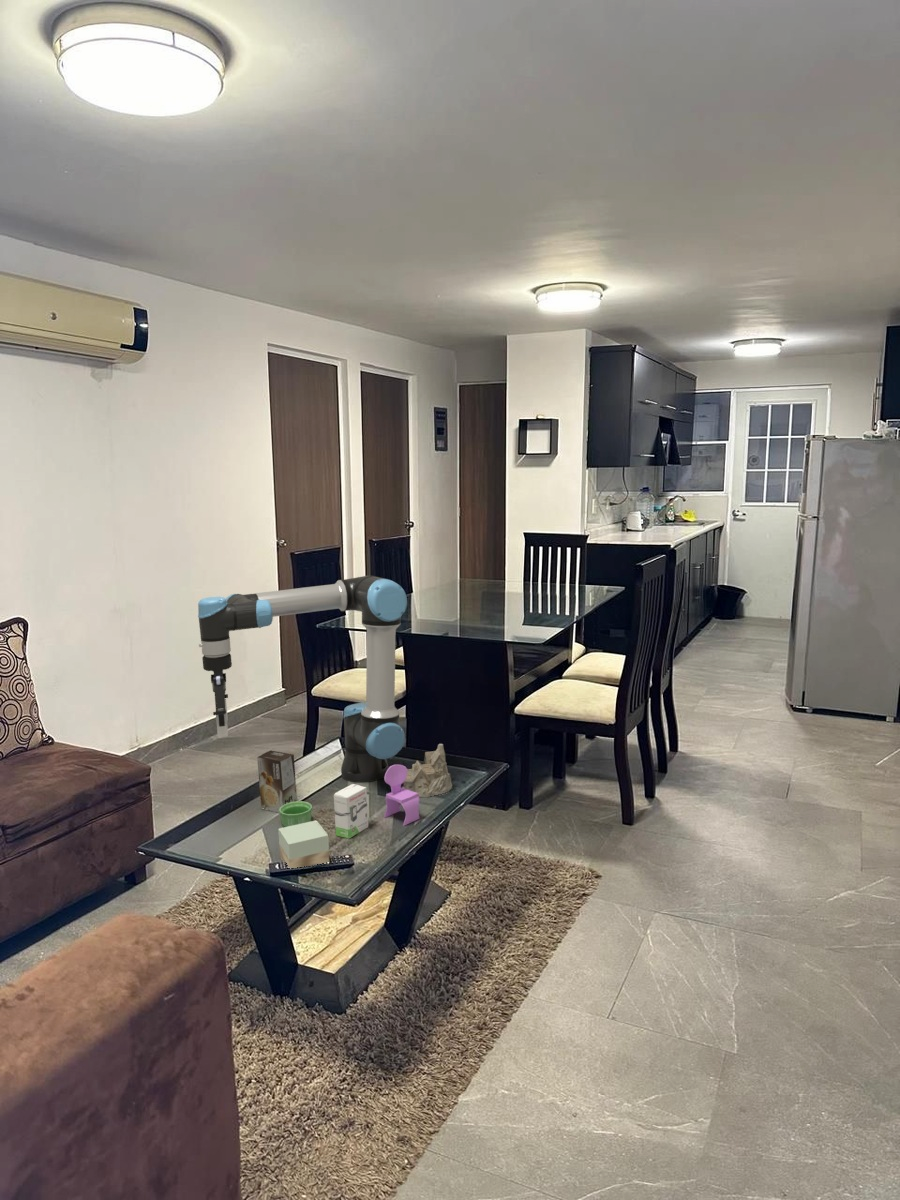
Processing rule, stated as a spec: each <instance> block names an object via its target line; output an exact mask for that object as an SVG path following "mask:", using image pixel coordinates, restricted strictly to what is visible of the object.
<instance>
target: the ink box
mask: <svg viewBox="0 0 900 1200" xmlns="http://www.w3.org/2000/svg"><path fill="white" fill-rule="evenodd" d="M367 790H368V789H367V787H366V786H362V785H359V784H355V783H351V784H350V785H347V786H346V787H344V788H342V789H340V790H338V791H336V792H335V793H334V794H333V804H334V805H333V806H334V807H333V808H334V822H335V823H334V824H335V825H334V826H335V835H336V836H337V837H342V838H344V839H351V838H352V837H354V836H355V835H357V834H359V833H361V832H362V831H364V830H366V829H367V828H369V816H368V815H369V813H368V810H369V809H368V794H367V793H368V791H367Z"/></svg>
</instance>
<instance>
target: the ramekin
mask: <svg viewBox="0 0 900 1200" xmlns="http://www.w3.org/2000/svg"><path fill="white" fill-rule="evenodd" d="M312 810H313V805H312V804H311V803H310V802H307V801H302V800H299V801H298V800H297V801H296V802H290V803H287V804H284V805H283V806H281V807H280V809H279V812H280V813H279V814H280V818H281V819H280V820H281V824H282V825H283V827H288V826H293V825H297V824H302V823H306V822H311V821H312Z"/></svg>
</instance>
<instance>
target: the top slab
mask: <svg viewBox="0 0 900 1200" xmlns="http://www.w3.org/2000/svg"><path fill="white" fill-rule="evenodd" d="M277 831H278V842H279V843H278V845H279V844H280V845H281V847H282V848H283V850H284V852H285V853H286V855H287V856H288V858H289V859H290V860H291V859H295V858H299V857H304V856H308V855H312V854H316V853H320V852H324V851H329V852H330V845H329V844H330V843H329V835H328V832H327V831H325V829H324V828H323V827H322V825H321V824H320V823H319V822H318V821H317V820H311V821H310V822H306V823H302V824H297V825H293V826H288V827H285V826H283V827H280V828H278V829H277Z"/></svg>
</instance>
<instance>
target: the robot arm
mask: <svg viewBox="0 0 900 1200" xmlns="http://www.w3.org/2000/svg"><path fill="white" fill-rule="evenodd" d="M197 605H198V607H197V608H198V611H197V612H198V615H197V617H198V624H199V632H200V633H199V634H200V643H198V647H199V648H201V654H202V655H203V656H202V657H201V658H202V668H203V670H204V671H207V672H213V673H212V674H210V683H211V685H212V686H211V687H212V692H213V693H214V703H215V704H214V705H215V711H213V712H212V714H213V716H215V721H216V732H217V734H216V735H217V739H221V738H229V729H228V728H229V727H228V721H229V720H228V707H227V699H229V694H228V693H227V694H226V690H227V687H226V683H227V673H226V672H225V673H224V670H229V669H230V668H232V666H233V663H232V655H231V652H232V650H231V649H232V647H231V638H230V632H233V631H240V630H249V629H250V630H251V629H257V628H258V629H261V628H264V627H269V626H270V625H272V623H273V621H274V617H281V616H282V617H283V616H289V615H297V614H306V613H313V612H321V611H329V610H337V609H339V610H340V612H345V611H346V612H347V611H355V612H356V611H357V612H361V625H362V626H363V627H364V628H365V630H366V673H365V674H366V683H365V686H366V687H365V688H366V690H365V691H366V693H365V695H366V697H365V699H366V700H365V702H358V703H353V704H349V705H347V706H346V707H344V710H343V728H344V742H345V745H344V746H345V751H344V752H345V754H344V757H343V760H342V764H341V768H340V773H341V774H340V775H341V777H342V779H344V780H346V781H349V782H354V783H366V782H374V781H377V780H381V779H382V778H384V777H385V774H386V772H387V770H388V768H389V764H388V760H387V759H391V758H393V757H395V756H396V755H397V754H398V753H399V752H400V751H401V750H402V748H403V746H404V745H405V740H406V735H405V734H406V733H405V732H404V728H402V726H400V711H399V710H398V708H396V706H395V697H396V695H395V693H396V690H395V685H396V683H395V681H396V631H397V629H398V628H399V627H400V626H401V622H402V621H401V619H402V618H401V617H402V616H403V614H404V613H405V612H406V610H407V606H408V598H407V594H406V591H405V589H403V587H402V586H401V585H400V584H398V583H397V582H395V581H393V580H391V579H388V578H383V577H380V576H375V575H363V576H358V577H353V578H345V579H338V580H337V581H336V582H335V583H332V584H324V585H315V586H306V587H299V588H297V587H296V588H290V589H280V590H273V591H264V592H256V593H247V594H241V593H233V594H230V595H228V596H226V597H224V596H209V597H205V598H201V599H200V600H199V601H198V604H197Z"/></svg>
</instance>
